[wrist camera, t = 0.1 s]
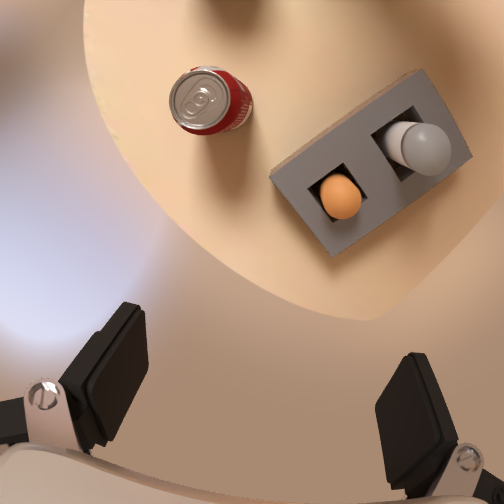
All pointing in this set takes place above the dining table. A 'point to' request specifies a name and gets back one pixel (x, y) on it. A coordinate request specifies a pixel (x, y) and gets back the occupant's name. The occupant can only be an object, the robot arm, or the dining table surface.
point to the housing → (367, 162)
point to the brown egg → (339, 196)
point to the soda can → (209, 101)
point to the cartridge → (415, 146)
